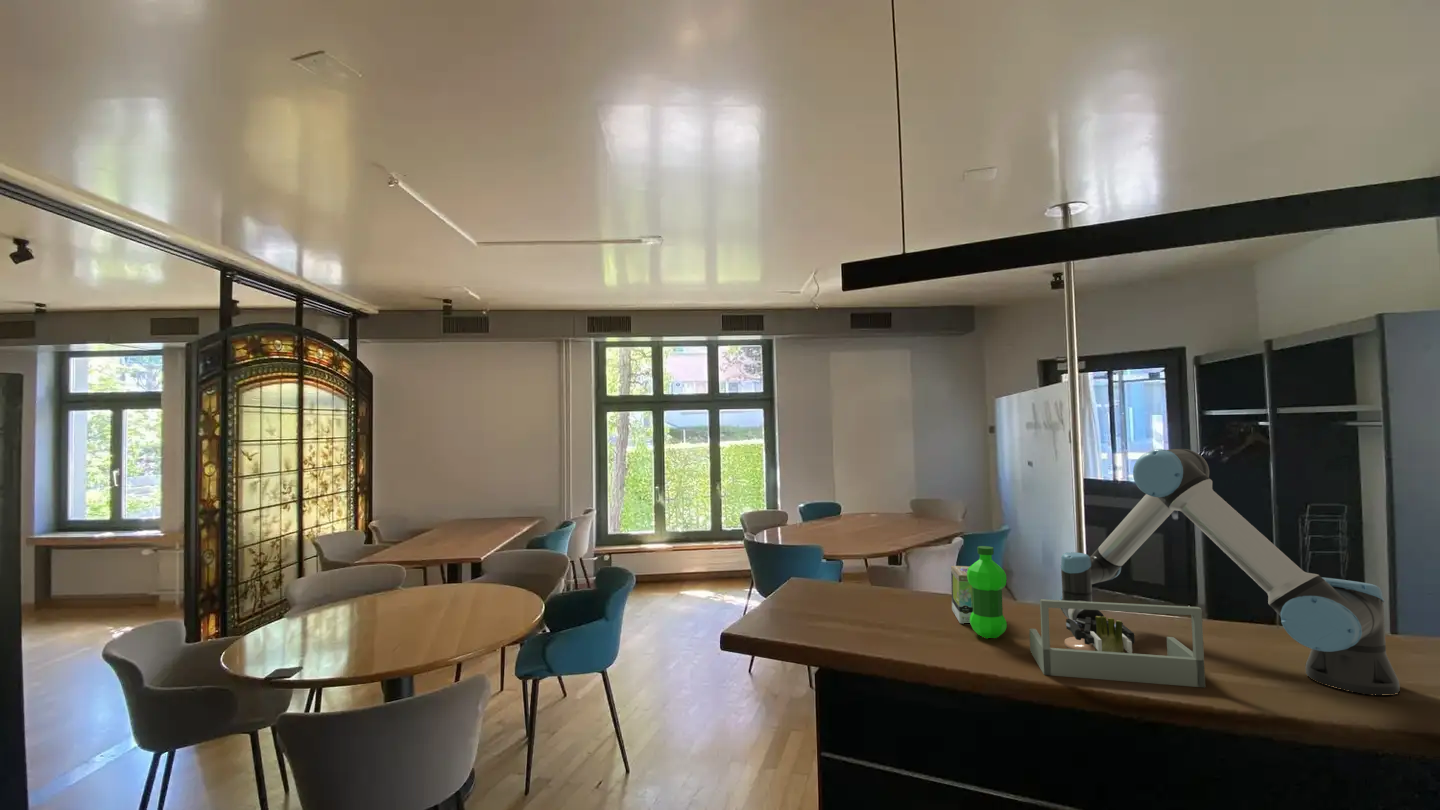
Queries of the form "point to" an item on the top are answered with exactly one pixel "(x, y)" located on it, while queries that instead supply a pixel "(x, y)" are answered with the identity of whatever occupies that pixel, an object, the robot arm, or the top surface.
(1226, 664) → the top surface
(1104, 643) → the fennel bulb
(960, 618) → the tea box
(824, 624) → the top surface
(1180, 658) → the frame
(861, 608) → the top surface
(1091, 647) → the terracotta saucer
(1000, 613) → the plastic bottle
